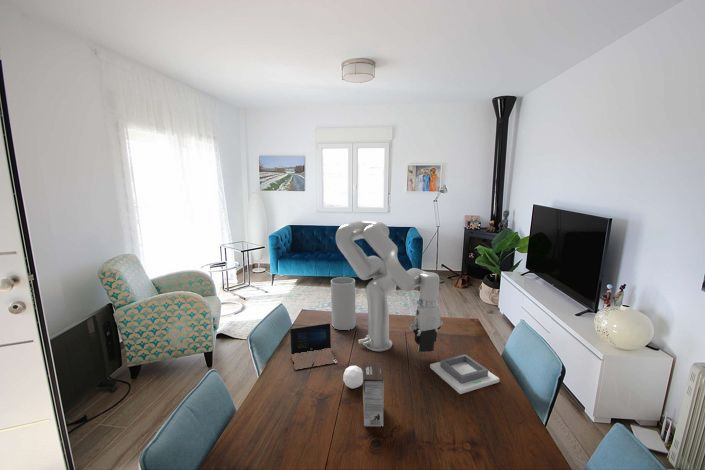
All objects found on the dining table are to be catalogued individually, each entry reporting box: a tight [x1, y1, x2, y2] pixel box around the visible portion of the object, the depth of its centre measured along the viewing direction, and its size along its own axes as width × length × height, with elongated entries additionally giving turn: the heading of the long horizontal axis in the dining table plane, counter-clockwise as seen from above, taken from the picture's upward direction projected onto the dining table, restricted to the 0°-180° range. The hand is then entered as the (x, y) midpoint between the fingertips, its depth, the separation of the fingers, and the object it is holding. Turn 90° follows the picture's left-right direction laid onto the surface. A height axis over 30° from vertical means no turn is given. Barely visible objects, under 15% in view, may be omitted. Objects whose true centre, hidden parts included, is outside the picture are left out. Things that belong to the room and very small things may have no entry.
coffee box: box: [362, 362, 385, 427], centre depth 102 cm, size 9×6×16 cm
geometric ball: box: [342, 365, 363, 389], centre depth 118 cm, size 8×8×8 cm
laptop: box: [289, 322, 338, 364], centre depth 136 cm, size 18×13×13 cm
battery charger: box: [417, 329, 436, 353], centre depth 136 cm, size 7×4×11 cm, turn 99°
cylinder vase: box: [330, 276, 357, 331], centre depth 167 cm, size 12×12×25 cm
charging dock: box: [429, 353, 500, 395], centre depth 124 cm, size 18×18×4 cm
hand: (425, 341), depth 136 cm, fingers closed on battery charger, 7 cm apart
